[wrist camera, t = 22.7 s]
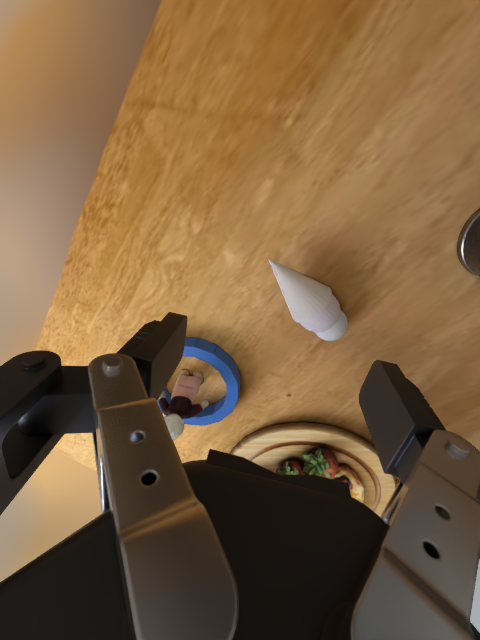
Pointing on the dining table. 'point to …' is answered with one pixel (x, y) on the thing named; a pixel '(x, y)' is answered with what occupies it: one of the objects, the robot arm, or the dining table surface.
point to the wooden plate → (321, 458)
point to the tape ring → (229, 373)
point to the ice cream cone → (311, 303)
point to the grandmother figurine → (182, 402)
